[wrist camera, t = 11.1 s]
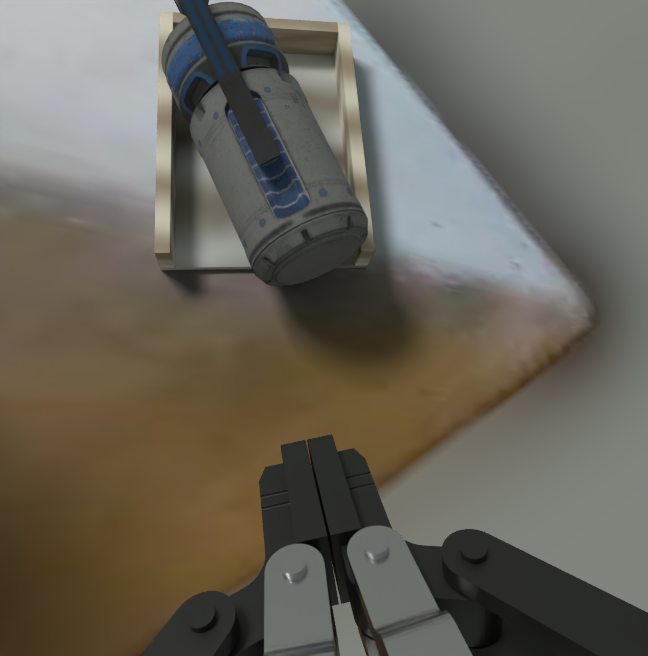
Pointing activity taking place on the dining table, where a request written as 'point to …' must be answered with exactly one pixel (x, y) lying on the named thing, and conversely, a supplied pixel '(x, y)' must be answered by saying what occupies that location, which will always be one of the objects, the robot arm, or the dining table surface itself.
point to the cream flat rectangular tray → (191, 171)
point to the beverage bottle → (261, 143)
